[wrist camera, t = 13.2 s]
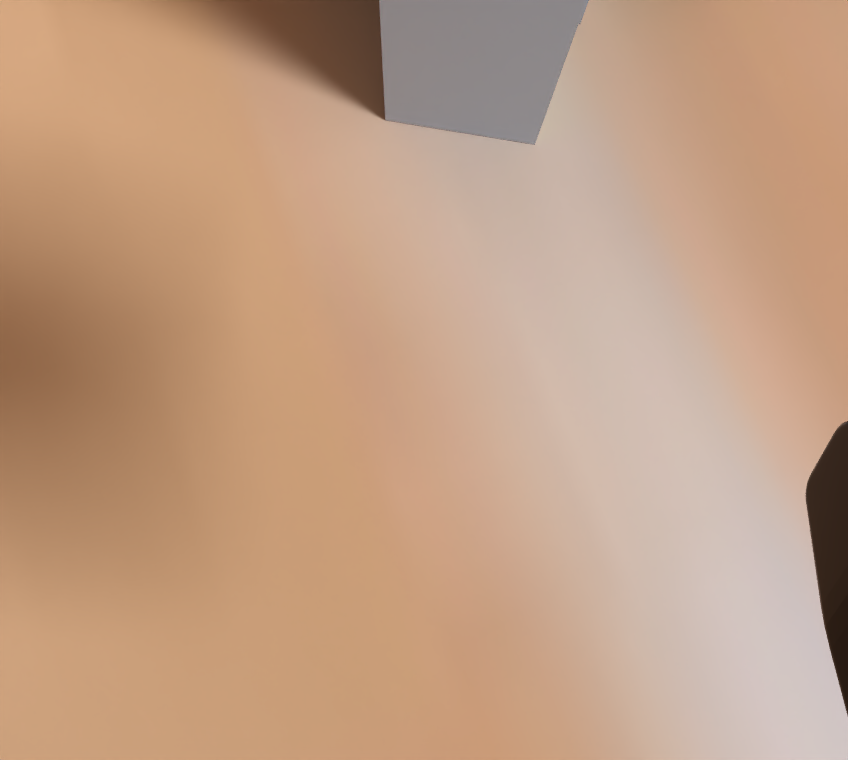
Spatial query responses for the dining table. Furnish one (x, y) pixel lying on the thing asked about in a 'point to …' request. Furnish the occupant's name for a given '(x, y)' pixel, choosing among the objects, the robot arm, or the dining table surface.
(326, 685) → the dining table surface
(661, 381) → the dining table surface
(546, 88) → the tall grey prism
